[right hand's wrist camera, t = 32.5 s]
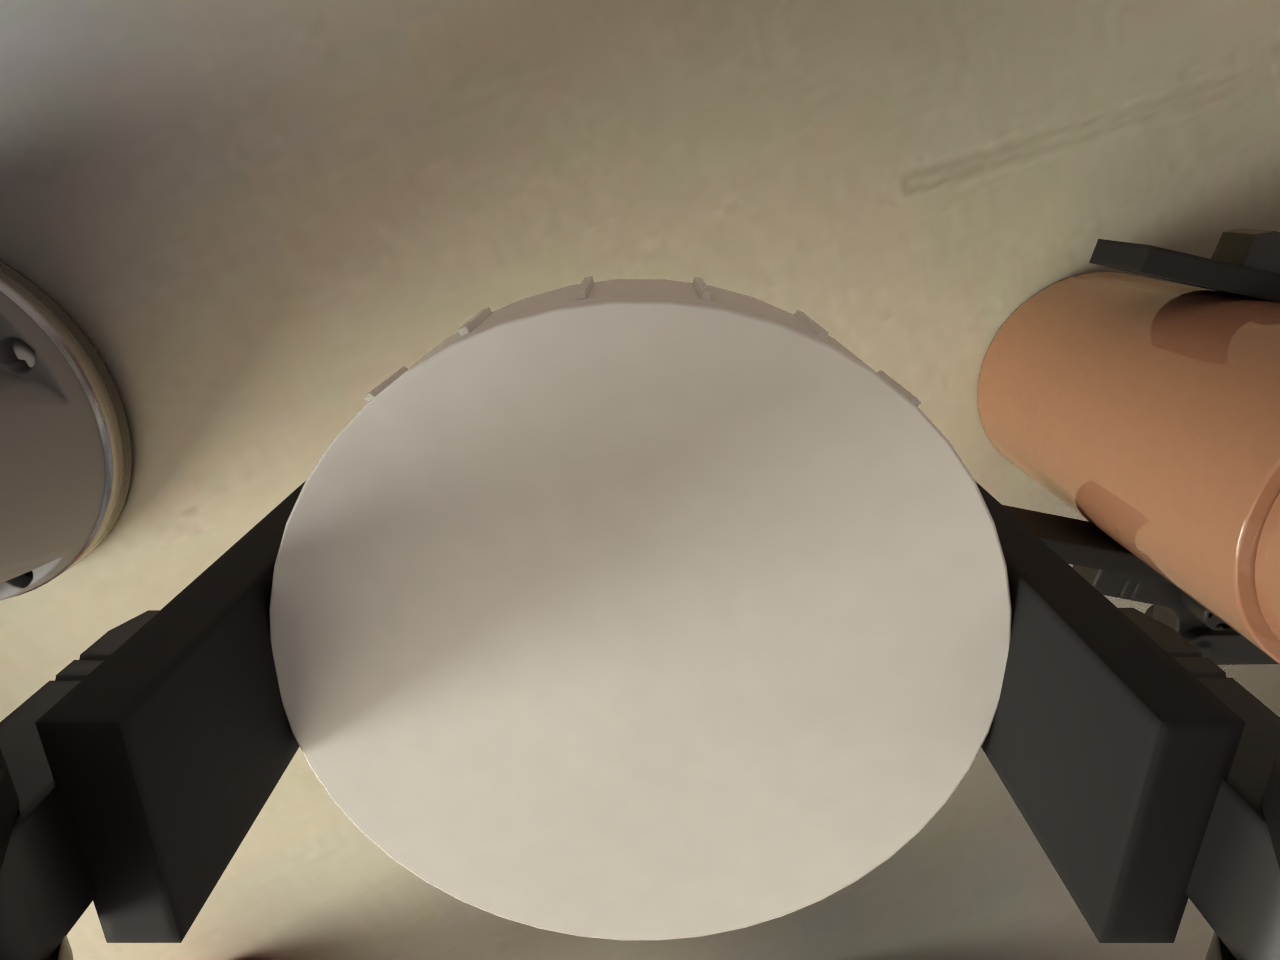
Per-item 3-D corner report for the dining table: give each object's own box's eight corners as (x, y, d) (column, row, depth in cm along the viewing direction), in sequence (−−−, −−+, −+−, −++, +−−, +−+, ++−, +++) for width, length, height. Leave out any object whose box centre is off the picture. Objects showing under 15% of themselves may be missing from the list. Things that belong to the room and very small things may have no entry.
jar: (1184, 457, 34) (1670, 702, 18) (980, 493, 34) (1277, 762, 18) (1195, 251, 31) (1792, 327, 15) (972, 294, 31) (1318, 412, 15)
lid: (465, 138, 10) (421, 127, 8) (1088, 459, 11) (1182, 517, 9) (246, 712, 13) (176, 805, 11) (761, 905, 14) (780, 1019, 12)
